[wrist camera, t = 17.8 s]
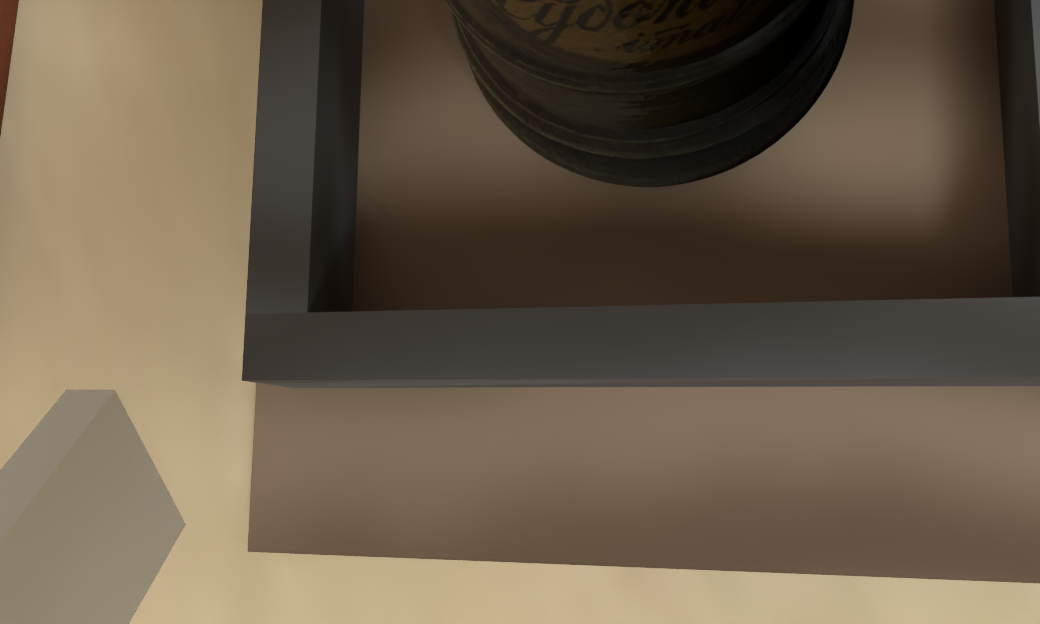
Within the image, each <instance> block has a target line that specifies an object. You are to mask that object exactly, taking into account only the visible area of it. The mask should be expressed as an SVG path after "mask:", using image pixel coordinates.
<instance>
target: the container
mask: <svg viewBox="0 0 1040 624" xmlns="http://www.w3.org/2000/svg"><path fill="white" fill-rule="evenodd" d="M445 1H446V3H447V4H448V6H449V8H450V12H451V17H452V21H453V25H454V28H455V32H456V35H457V38H458V41H459V43H460V45H461V47H462V49H463V51H464V54H465V56H466V58H467V60H468V62H469V65H470V67H471V70H472V73H473V75H474V78H475V80H476V82H477V84H478V86H479V88H480V90H481V92H482V93H483V95H484V97H485V99H486V100H487V102H488V103H489V105H490V106H491V108H492V109H493V111H494V112H495V113H496V115H497V116H498V117H499V119H500V120H501V121H502V122H503V123H504V124H505V125H506V126H507V127H508V128H509V130H510V131H511V132H512V133H513V134H514V135H515V136H516V137H518V138H519V139H520V140H521V141H522V142H523V143H525V144H526V145H527V146H528V147H529V148H531V149H532V150H533V151H535V152H536V153H538V154H539V155H541V156H542V157H544V158H545V159H547V160H549V161H550V162H552V163H554V164H556V165H558V166H560V167H562V168H564V169H566V170H569V171H571V172H574V173H576V174H579V175H582V176H584V177H587V178H590V179H594V180H598V181H602V182H606V183H611V184H617V185H624V186H633V187H663V186H672V185H679V184H685V183H690V182H694V181H698V180H702V179H705V178H709V177H712V176H715V175H718V174H721V173H723V172H726V171H728V170H731V169H733V168H735V167H737V166H739V165H741V164H743V163H745V162H747V161H749V160H750V159H752V158H754V157H755V156H757V155H759V154H761V153H762V152H763V151H765V150H766V149H768V148H769V147H771V146H772V145H773V144H775V143H776V142H777V141H779V140H780V139H781V138H782V137H783V136H785V135H786V134H787V133H788V132H789V131H790V130H791V129H792V128H793V127H794V126H795V125H796V124H797V123H798V122H799V121H800V120H801V119H802V118H803V117H804V116H805V115H806V114H807V112H808V111H809V110H810V109H811V108H812V106H813V105H814V104H815V103H816V101H817V100H818V98H819V97H820V96H821V94H822V93H823V91H824V90H825V88H826V87H827V85H828V83H829V81H830V80H831V78H832V76H833V74H834V72H835V70H836V68H837V66H838V64H839V62H840V59H841V57H842V54H843V52H844V49H845V46H846V42H847V39H848V35H849V31H850V27H851V22H852V16H853V8H854V0H445Z"/></svg>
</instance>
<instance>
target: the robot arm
mask: <svg viewBox="0 0 1040 624" xmlns="http://www.w3.org/2000/svg"><path fill="white" fill-rule="evenodd" d="M185 525H186V524H185V522H184V520H183V518H182V517H181V515H180V513H179V511H178V509H177V507H176V505H175V503H174V501H173V499H172V498H171V496H170V494H169V492H168V490H167V488H166V486H165V484H164V482H163V480H162V479H161V477H160V475H159V473H158V471H157V469H156V467H155V465H154V463H153V461H152V460H151V458H150V456H149V454H148V452H147V450H146V448H145V446H144V444H143V442H142V441H141V439H140V437H139V435H138V433H137V431H136V429H135V427H134V425H133V423H132V422H131V420H130V418H129V416H128V414H127V412H126V410H125V408H124V406H123V404H122V403H121V401H120V399H119V397H118V395H117V393H116V391H115V390H66V391H65V392H64V393H63V395H62V396H61V397H60V398H59V400H58V401H57V402H56V403H55V404H54V406H53V407H52V408H51V409H50V411H49V412H48V413H47V414H46V415H45V417H44V418H43V419H42V420H41V422H40V423H39V424H38V425H37V426H36V428H35V429H34V430H33V431H32V433H31V434H30V435H29V436H28V437H27V439H26V440H25V441H24V442H23V444H22V445H21V446H20V447H19V448H18V450H17V451H16V452H15V453H14V455H13V456H12V457H11V458H10V459H9V461H8V462H7V463H6V464H5V465H4V467H3V468H2V469H1V470H0V624H129V622H130V620H131V619H132V617H133V615H134V613H135V612H136V610H137V608H138V606H139V605H140V603H141V601H142V599H143V598H144V596H145V594H146V593H147V591H148V589H149V587H150V586H151V584H152V582H153V580H154V579H155V577H156V575H157V573H158V572H159V570H160V568H161V566H162V565H163V563H164V561H165V559H166V558H167V556H168V554H169V552H170V551H171V549H172V547H173V545H174V544H175V542H176V540H177V538H178V537H179V535H180V533H181V532H182V530H183V528H184V526H185Z"/></svg>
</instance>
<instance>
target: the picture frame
mask: <svg viewBox="0 0 1040 624" xmlns="http://www.w3.org/2000/svg"><path fill="white" fill-rule="evenodd" d="M18 2H19V0H0V135H1V127H2V120H3V113H4V105H5V98H6V91H7V83H8V76H9V68H10V61H11V54H12V46H13V39H14V32H15V24H16V17H17V9H18Z"/></svg>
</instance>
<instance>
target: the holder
mask: <svg viewBox="0 0 1040 624" xmlns="http://www.w3.org/2000/svg"><path fill="white" fill-rule="evenodd" d="M242 381H249V382H256V402H255V421H254V440H253V459H252V478H251V497H250V516H249V535H248V552H269V553H294V554H319V555H344V556H369V557H395V558H420V559H445V560H470V561H495V562H520V563H545V564H570V565H595V566H620V567H645V568H670V569H695V570H720V571H745V572H771V573H796V574H821V575H846V576H871V577H896V578H921V579H946V580H971V581H996V582H1021V583H1040V0H854V8H853V16H852V22H851V27H850V31H849V35H848V39H847V42H846V46H845V49H844V52H843V54H842V57H841V59H840V62H839V64H838V66H837V68H836V70H835V72H834V74H833V76H832V78H831V80H830V81H829V83H828V85H827V87H826V88H825V90H824V91H823V93H822V94H821V96H820V97H819V98H818V100H817V101H816V103H815V104H814V105H813V106H812V108H811V109H810V110H809V111H808V112H807V114H806V115H805V116H804V117H803V118H802V119H801V120H800V121H799V122H798V123H797V124H796V125H795V126H794V127H793V128H792V129H791V130H790V131H789V132H788V133H787V134H786V135H785V136H783V137H782V138H781V139H780V140H779V141H777V142H776V143H775V144H773V145H772V146H771V147H769V148H768V149H766V150H765V151H763V152H762V153H761V154H759V155H757V156H755V157H754V158H752V159H750V160H749V161H747V162H745V163H743V164H741V165H739V166H737V167H735V168H733V169H731V170H728V171H726V172H723V173H721V174H718V175H715V176H712V177H709V178H705V179H702V180H698V181H694V182H690V183H685V184H679V185H672V186H663V187H633V186H624V185H617V184H611V183H606V182H602V181H598V180H594V179H590V178H587V177H584V176H582V175H579V174H576V173H574V172H571V171H569V170H566V169H564V168H562V167H560V166H558V165H556V164H554V163H552V162H550V161H549V160H547V159H545V158H544V157H542V156H541V155H539V154H538V153H536V152H535V151H533V150H532V149H531V148H529V147H528V146H527V145H526V144H525V143H523V142H522V141H521V140H520V139H519V138H518V137H516V136H515V135H514V134H513V133H512V132H511V131H510V130H509V128H508V127H507V126H506V125H505V124H504V123H503V122H502V121H501V120H500V119H499V117H498V116H497V115H496V113H495V112H494V111H493V109H492V108H491V106H490V105H489V103H488V102H487V100H486V99H485V97H484V95H483V93H482V92H481V90H480V88H479V86H478V84H477V82H476V80H475V78H474V75H473V73H472V70H471V67H470V65H469V62H468V60H467V58H466V56H465V54H464V51H463V49H462V47H461V45H460V43H459V41H458V38H457V35H456V32H455V28H454V25H453V21H452V17H451V12H450V8H449V6H448V4H447V3H446V1H445V0H263V7H262V25H261V43H260V61H259V80H258V98H257V116H256V134H255V153H254V171H253V189H252V207H251V225H250V244H249V262H248V280H247V298H246V317H245V335H244V353H243V371H242Z"/></svg>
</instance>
